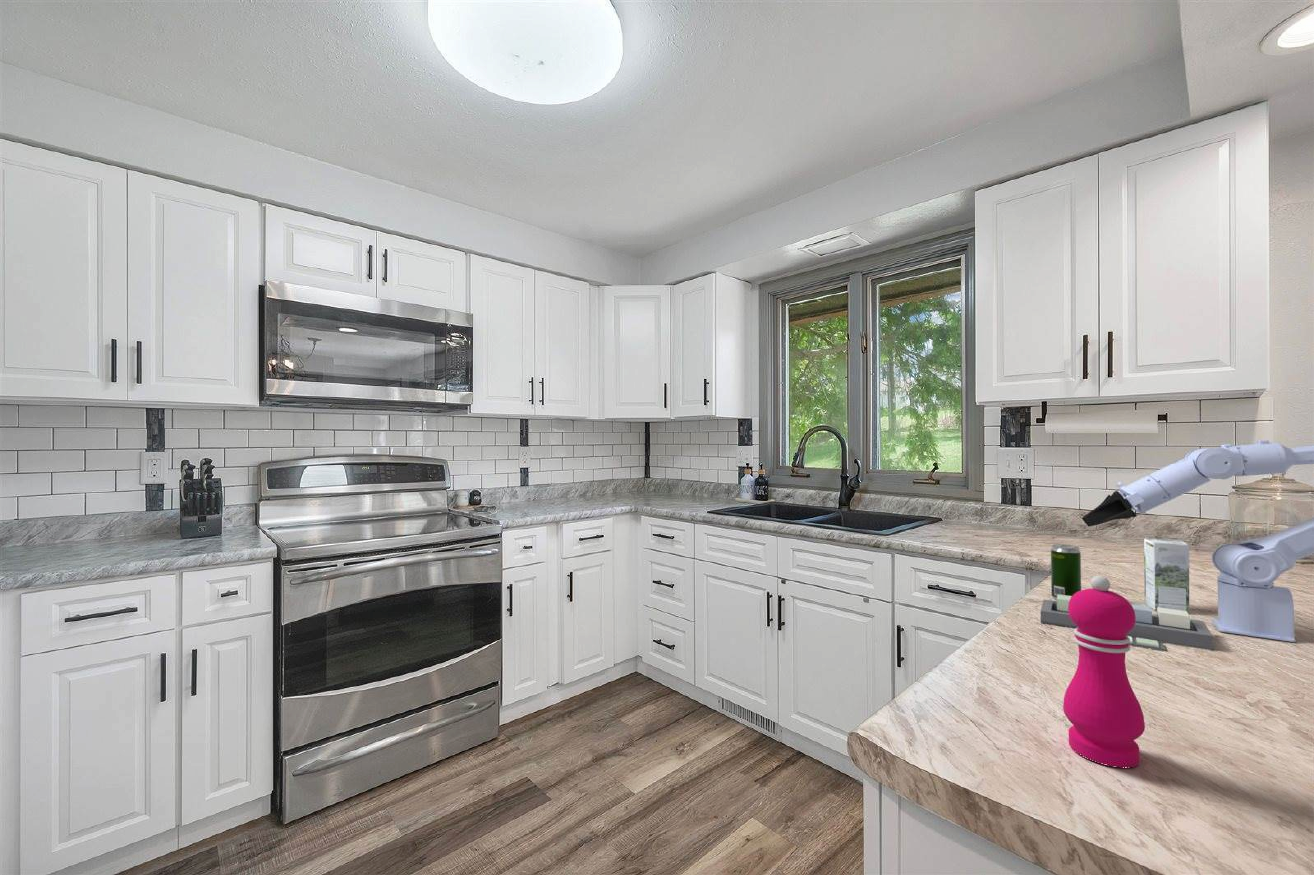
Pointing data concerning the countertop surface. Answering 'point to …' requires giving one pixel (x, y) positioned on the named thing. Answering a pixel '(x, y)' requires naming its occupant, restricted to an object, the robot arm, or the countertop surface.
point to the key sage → (1063, 602)
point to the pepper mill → (1103, 679)
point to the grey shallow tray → (1141, 628)
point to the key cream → (1173, 618)
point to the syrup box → (1166, 574)
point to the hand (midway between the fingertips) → (1086, 521)
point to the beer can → (1065, 570)
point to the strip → (1146, 643)
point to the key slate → (1142, 613)
